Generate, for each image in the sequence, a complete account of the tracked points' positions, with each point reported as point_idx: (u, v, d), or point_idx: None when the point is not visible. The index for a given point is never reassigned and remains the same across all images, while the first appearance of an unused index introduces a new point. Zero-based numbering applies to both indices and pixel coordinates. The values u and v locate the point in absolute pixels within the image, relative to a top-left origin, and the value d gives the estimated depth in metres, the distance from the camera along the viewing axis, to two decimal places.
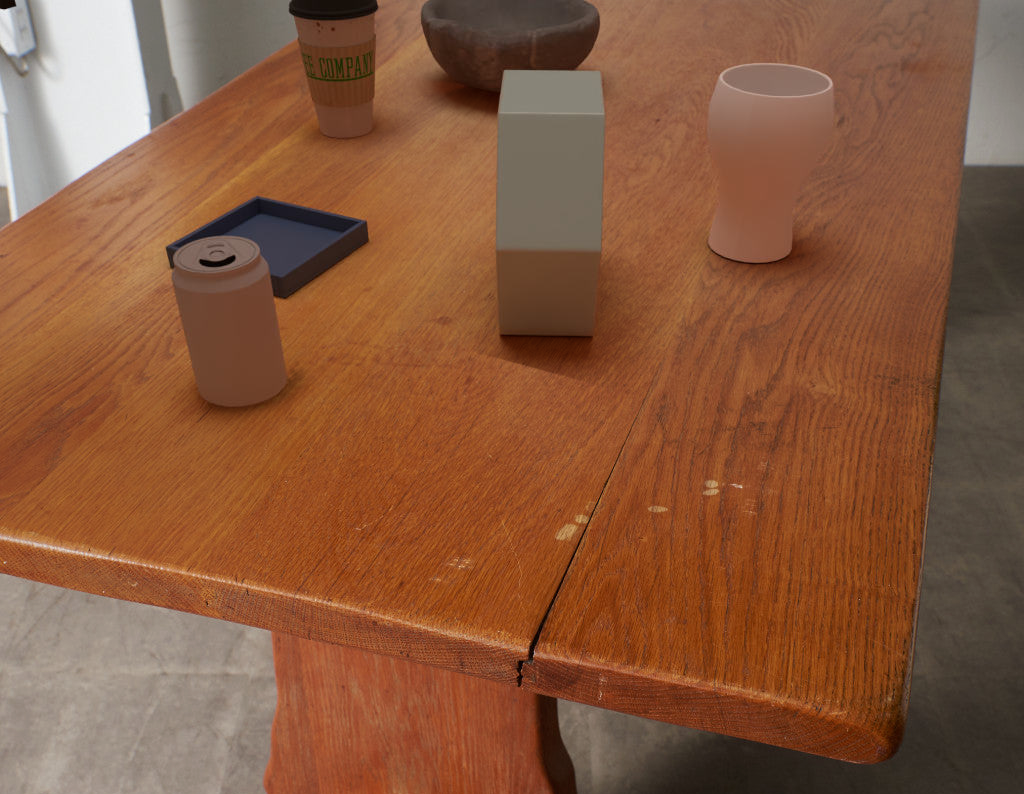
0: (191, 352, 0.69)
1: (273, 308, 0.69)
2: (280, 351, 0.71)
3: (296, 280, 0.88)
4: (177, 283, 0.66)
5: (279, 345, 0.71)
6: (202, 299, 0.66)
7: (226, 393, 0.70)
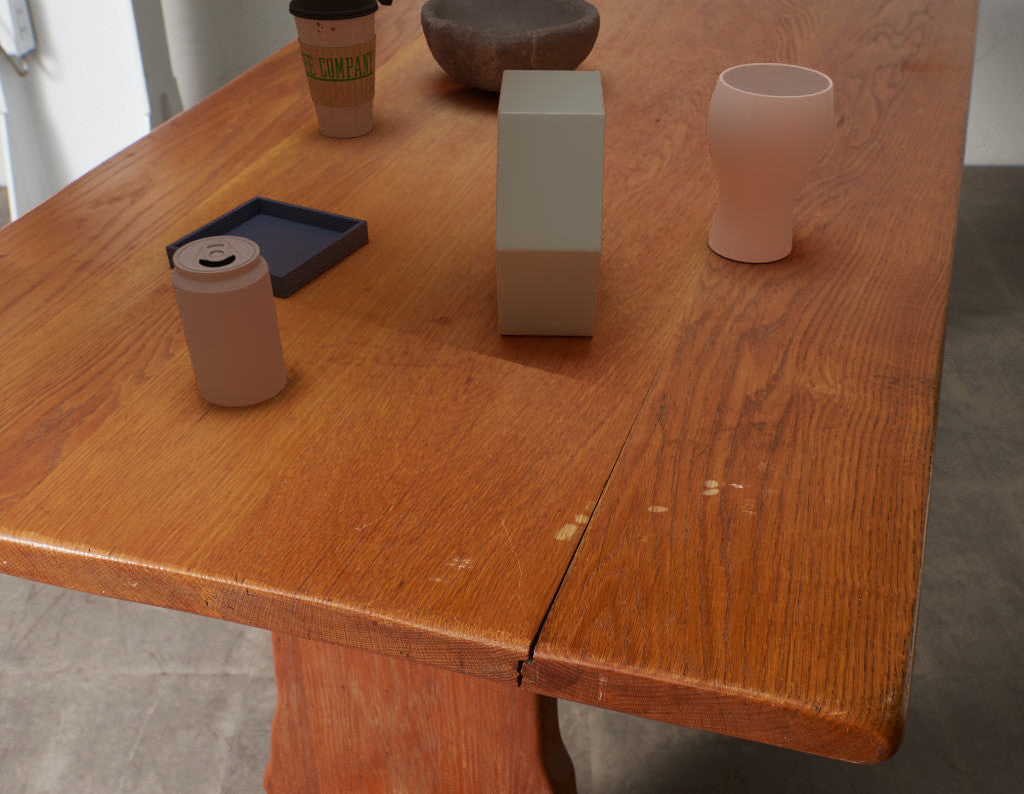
0: (191, 352, 0.69)
1: (273, 308, 0.69)
2: (280, 351, 0.71)
3: (296, 280, 0.88)
4: (177, 283, 0.66)
5: (279, 345, 0.71)
6: (202, 299, 0.66)
7: (226, 393, 0.70)
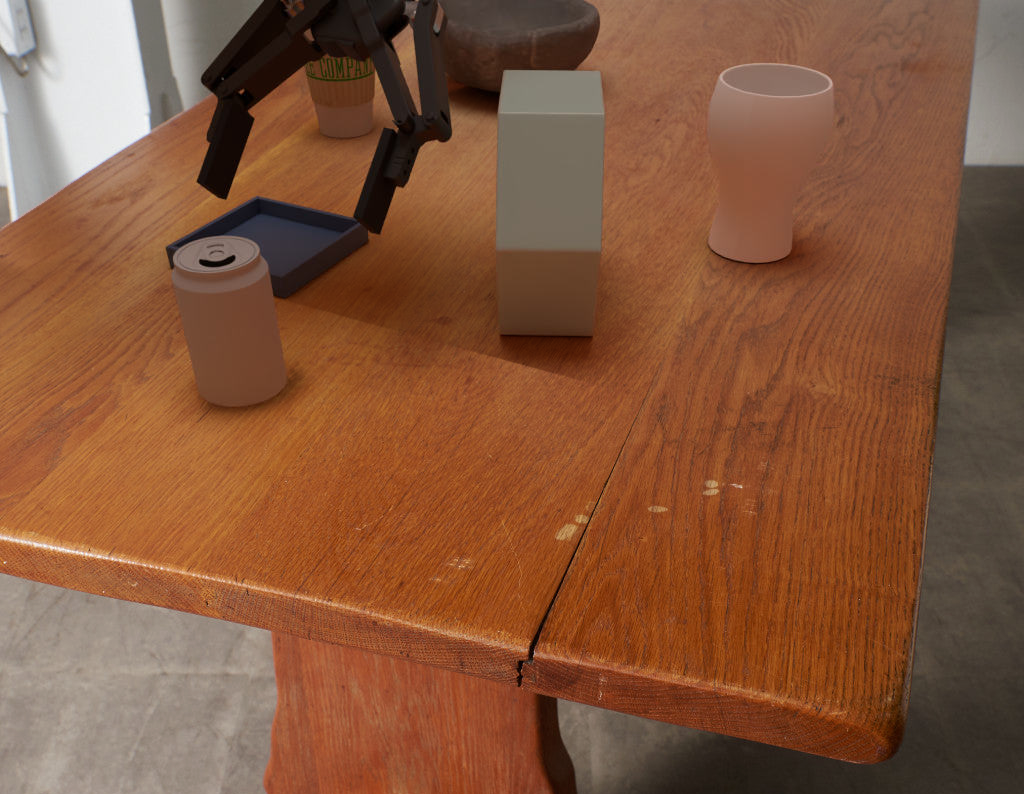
0: (191, 352, 0.69)
1: (273, 308, 0.69)
2: (280, 351, 0.71)
3: (296, 280, 0.88)
4: (177, 283, 0.66)
5: (279, 345, 0.71)
6: (202, 299, 0.66)
7: (226, 393, 0.70)
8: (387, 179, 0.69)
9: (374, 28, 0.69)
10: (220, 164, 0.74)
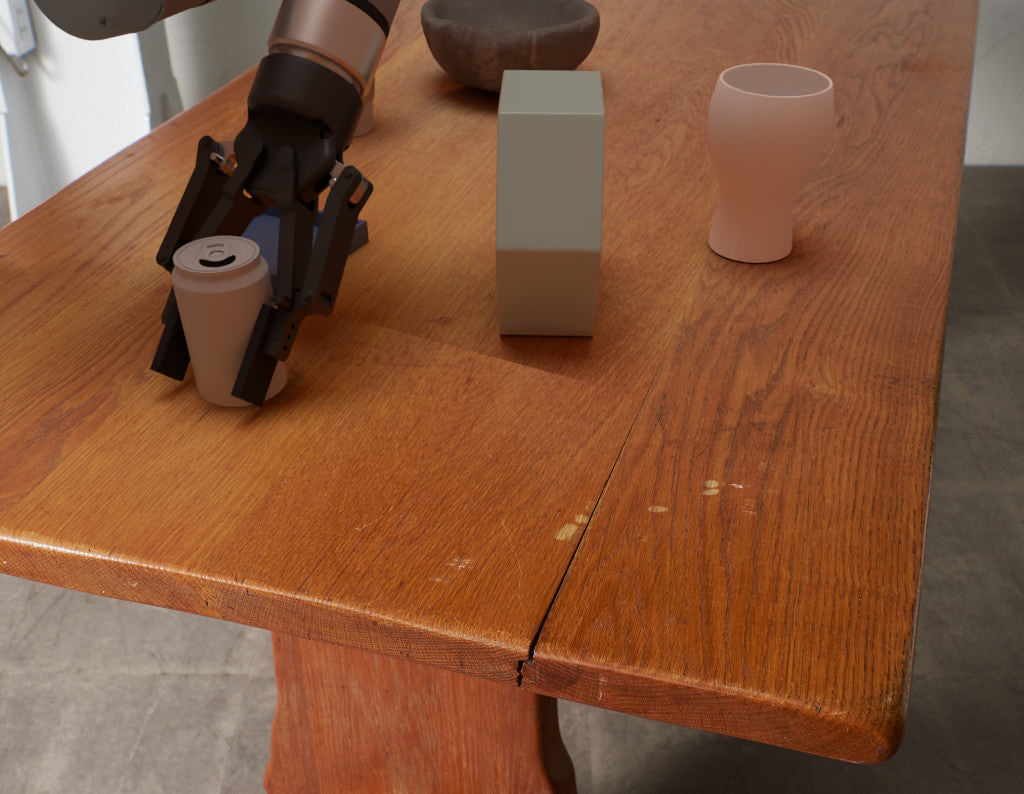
0: (191, 352, 0.69)
1: None
2: None
3: None
4: (177, 283, 0.66)
5: None
6: (202, 299, 0.66)
7: (226, 393, 0.70)
8: (267, 355, 0.68)
9: (290, 191, 0.68)
10: (175, 349, 0.71)
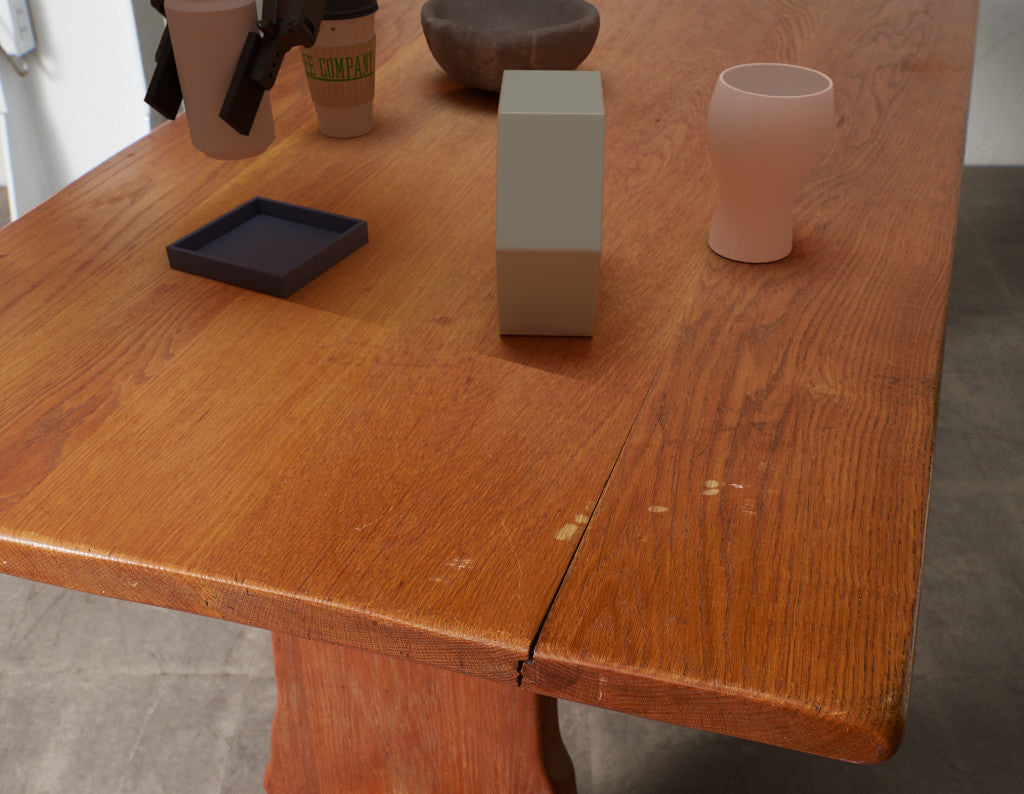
0: (182, 83, 0.74)
1: None
2: None
3: (296, 280, 0.88)
4: (169, 5, 0.70)
5: None
6: (192, 19, 0.70)
7: (215, 124, 0.75)
8: (253, 81, 0.73)
9: None
10: (167, 84, 0.75)
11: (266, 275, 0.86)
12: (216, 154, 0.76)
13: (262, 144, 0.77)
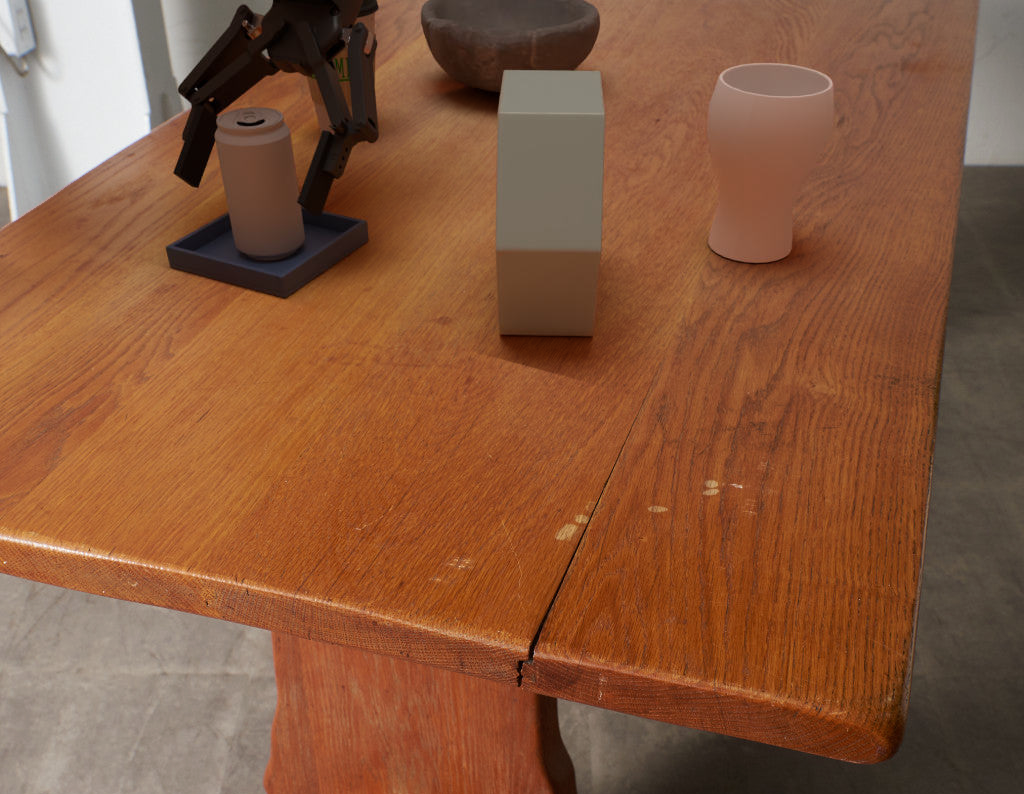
0: (229, 199, 0.88)
1: (293, 164, 0.88)
2: None
3: (296, 280, 0.88)
4: (220, 139, 0.85)
5: (298, 196, 0.90)
6: (239, 151, 0.85)
7: (256, 232, 0.89)
8: (325, 172, 0.86)
9: (316, 50, 0.86)
10: (193, 159, 0.90)
11: (266, 275, 0.86)
12: (256, 256, 0.91)
13: (294, 246, 0.91)
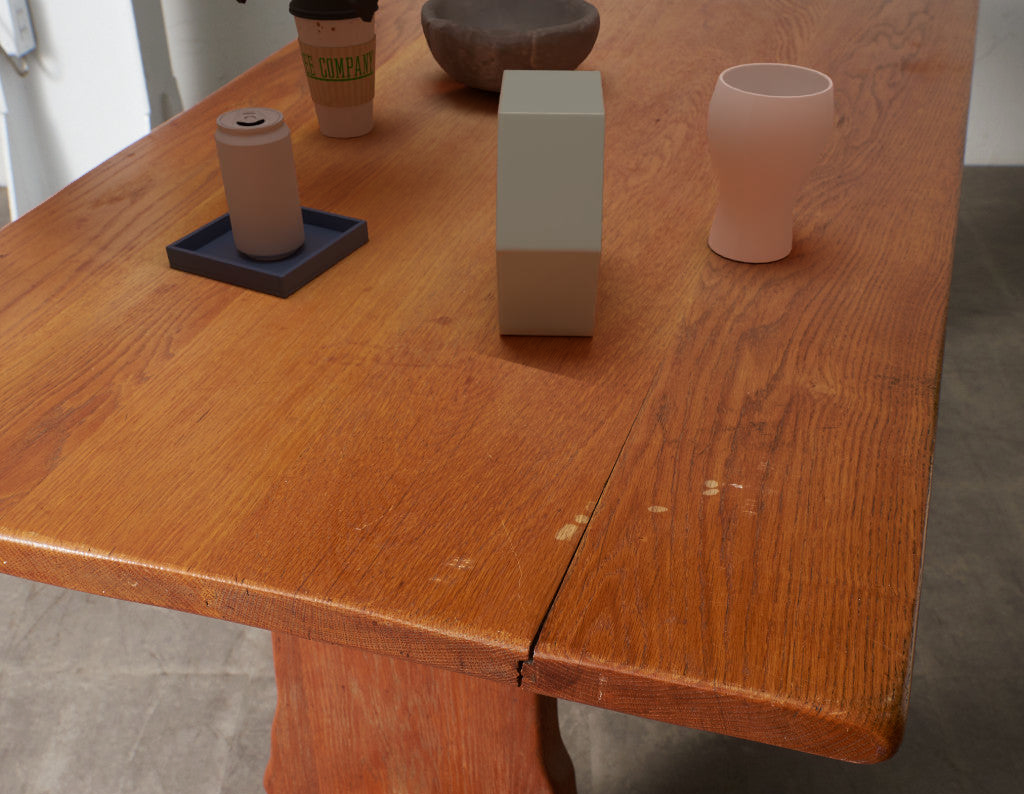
0: (229, 199, 0.88)
1: (293, 164, 0.88)
2: (298, 201, 0.90)
3: (296, 280, 0.88)
4: (220, 139, 0.85)
5: (297, 196, 0.90)
6: (239, 151, 0.85)
7: (256, 232, 0.89)
8: None
9: None
10: None
11: (266, 275, 0.86)
12: (256, 256, 0.91)
13: (294, 246, 0.91)
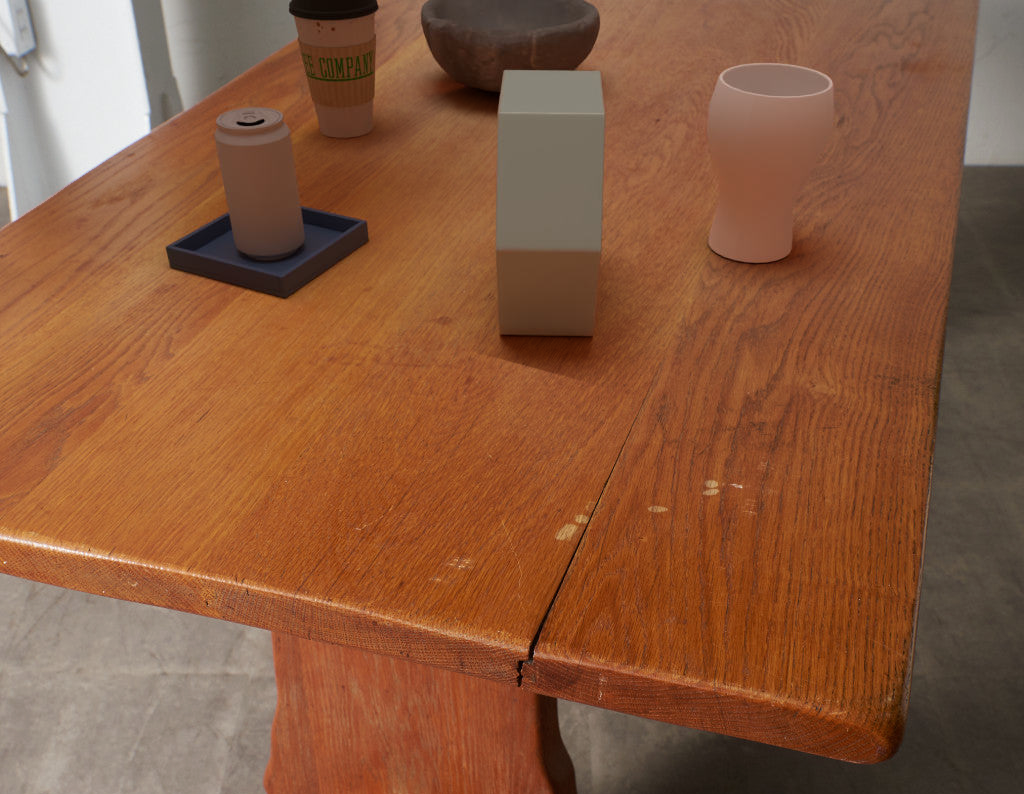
0: (229, 199, 0.88)
1: (293, 164, 0.88)
2: (298, 201, 0.90)
3: (296, 280, 0.88)
4: (220, 139, 0.85)
5: (297, 196, 0.90)
6: (239, 151, 0.85)
7: (256, 232, 0.89)
8: None
9: None
10: None
11: (266, 275, 0.86)
12: (256, 256, 0.91)
13: (294, 246, 0.91)
